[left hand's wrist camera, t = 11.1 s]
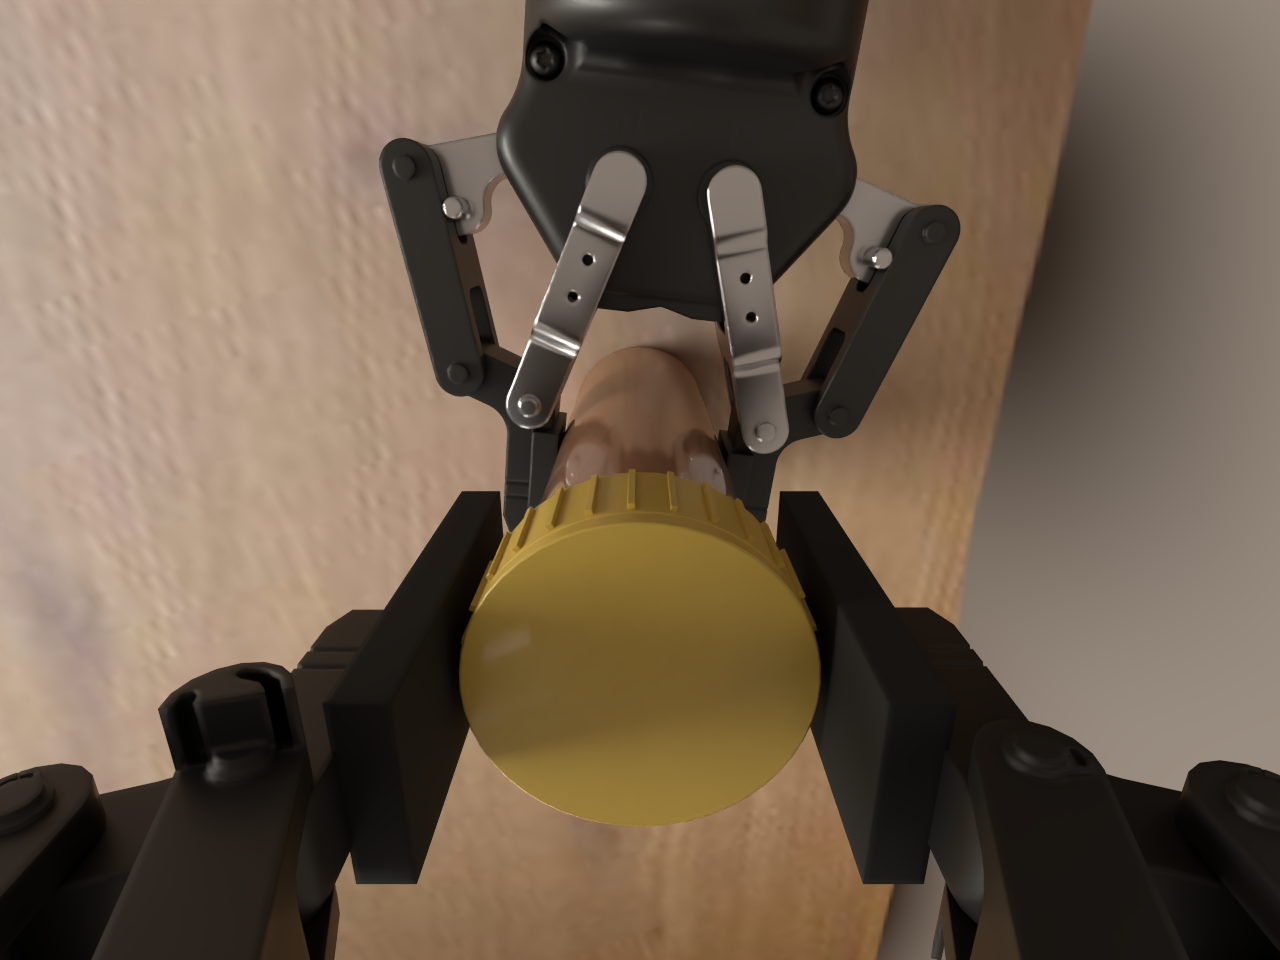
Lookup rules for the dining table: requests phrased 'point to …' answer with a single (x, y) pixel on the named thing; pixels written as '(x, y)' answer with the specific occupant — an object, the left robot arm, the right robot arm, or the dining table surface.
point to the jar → (639, 424)
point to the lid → (640, 652)
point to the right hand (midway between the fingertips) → (630, 550)
